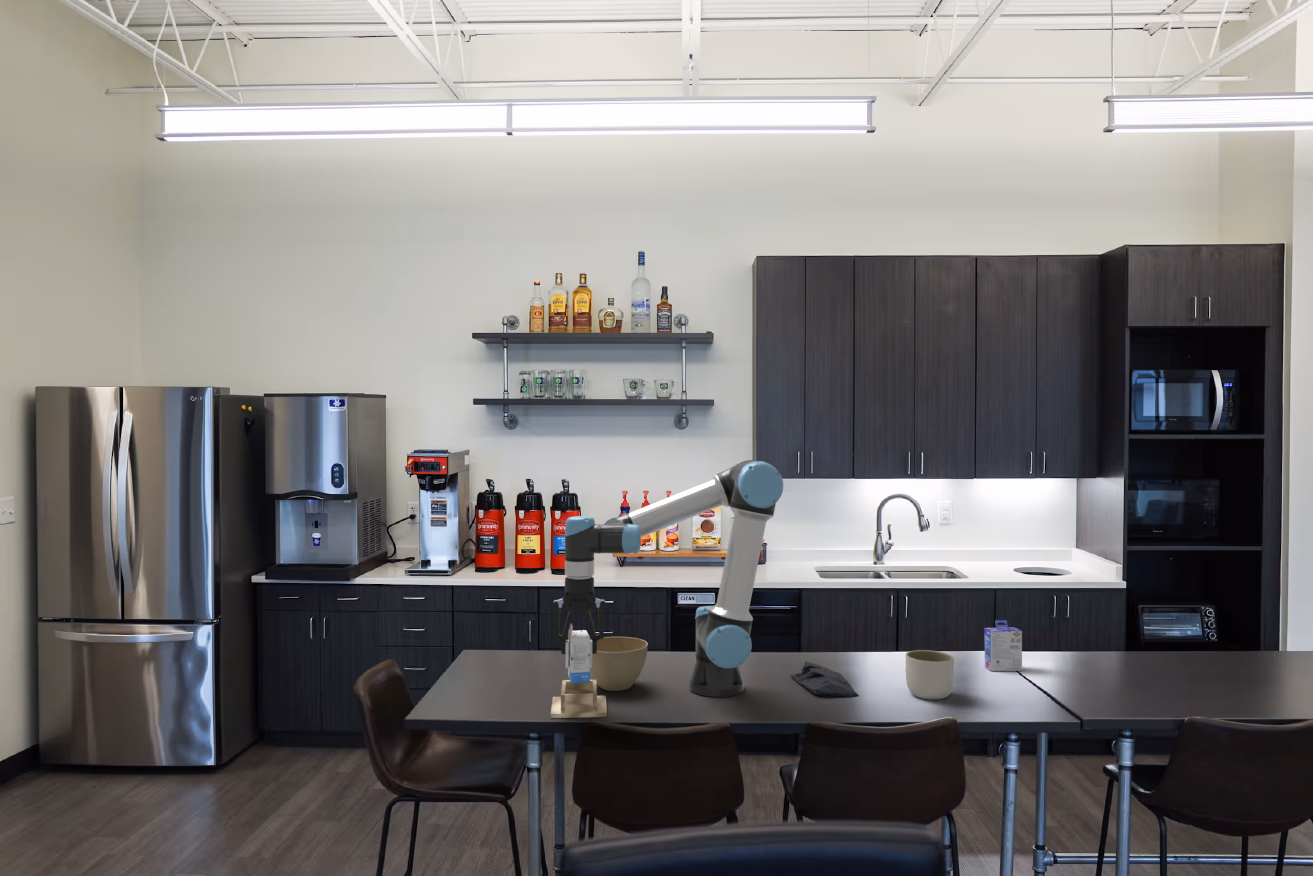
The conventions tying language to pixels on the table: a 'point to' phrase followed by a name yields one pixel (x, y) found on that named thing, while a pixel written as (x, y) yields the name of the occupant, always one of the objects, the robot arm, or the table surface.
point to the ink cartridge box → (1003, 648)
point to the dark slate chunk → (823, 681)
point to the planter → (929, 674)
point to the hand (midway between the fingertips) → (578, 666)
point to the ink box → (579, 656)
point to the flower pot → (618, 662)
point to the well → (578, 701)
